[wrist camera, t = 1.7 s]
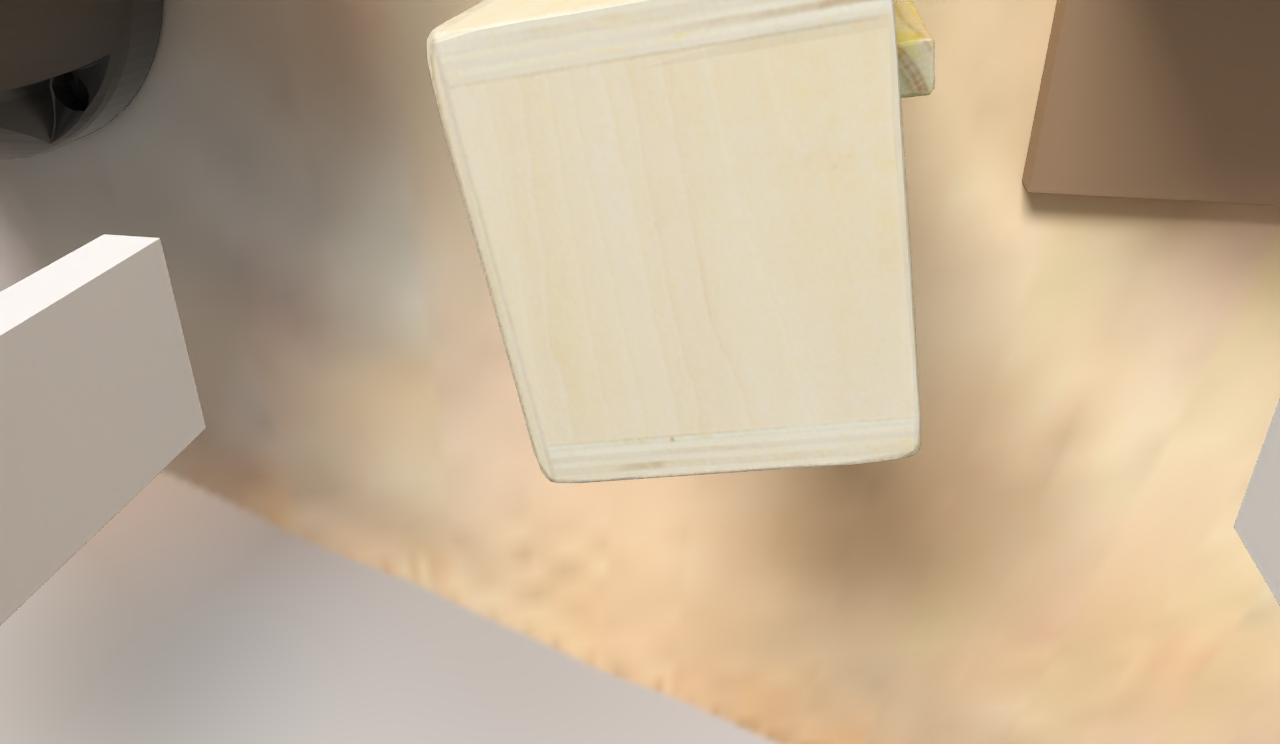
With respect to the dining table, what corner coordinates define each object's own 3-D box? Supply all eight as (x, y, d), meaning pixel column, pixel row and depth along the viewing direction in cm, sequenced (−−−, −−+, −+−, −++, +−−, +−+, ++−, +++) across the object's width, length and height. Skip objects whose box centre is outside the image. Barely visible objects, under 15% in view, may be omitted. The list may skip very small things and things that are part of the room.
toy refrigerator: (889, 123, 34) (968, 465, 16) (679, 152, 36) (529, 491, 17) (872, -134, 30) (947, -77, 12) (639, -89, 32) (399, 21, 14)
